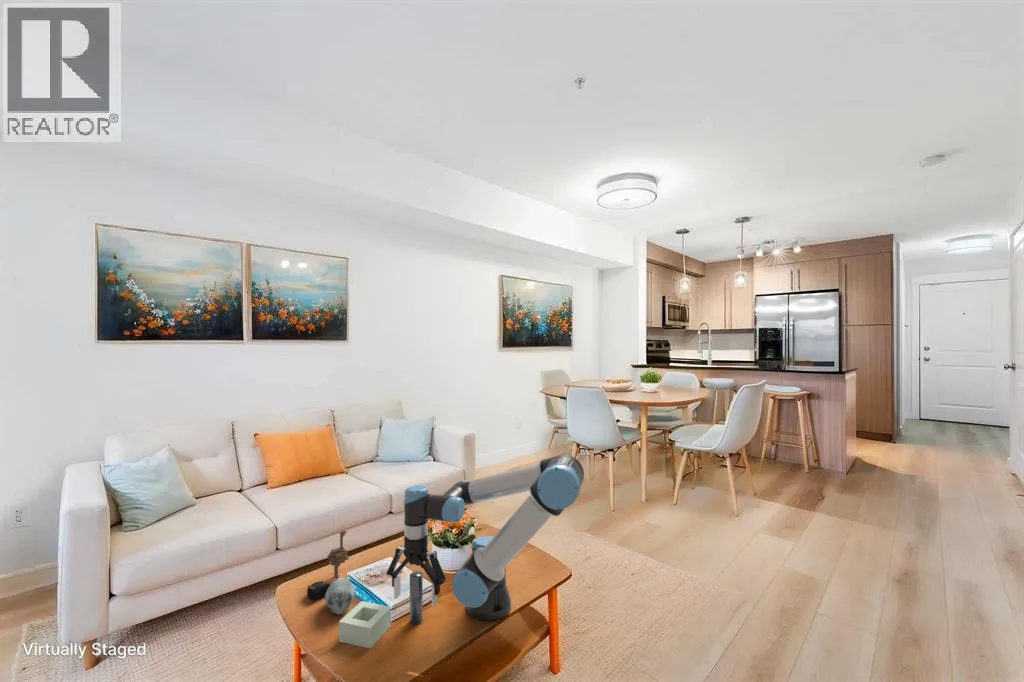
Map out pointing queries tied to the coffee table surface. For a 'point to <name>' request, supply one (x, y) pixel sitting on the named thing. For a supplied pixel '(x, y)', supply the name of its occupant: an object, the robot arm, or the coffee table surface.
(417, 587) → the grey metal cylinder
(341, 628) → the green block with hole
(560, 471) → the robot arm
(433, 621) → the coffee table surface
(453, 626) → the coffee table surface
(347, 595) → the grey rounded lump
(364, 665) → the coffee table surface
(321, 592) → the tape measure
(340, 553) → the ostrich figurine
